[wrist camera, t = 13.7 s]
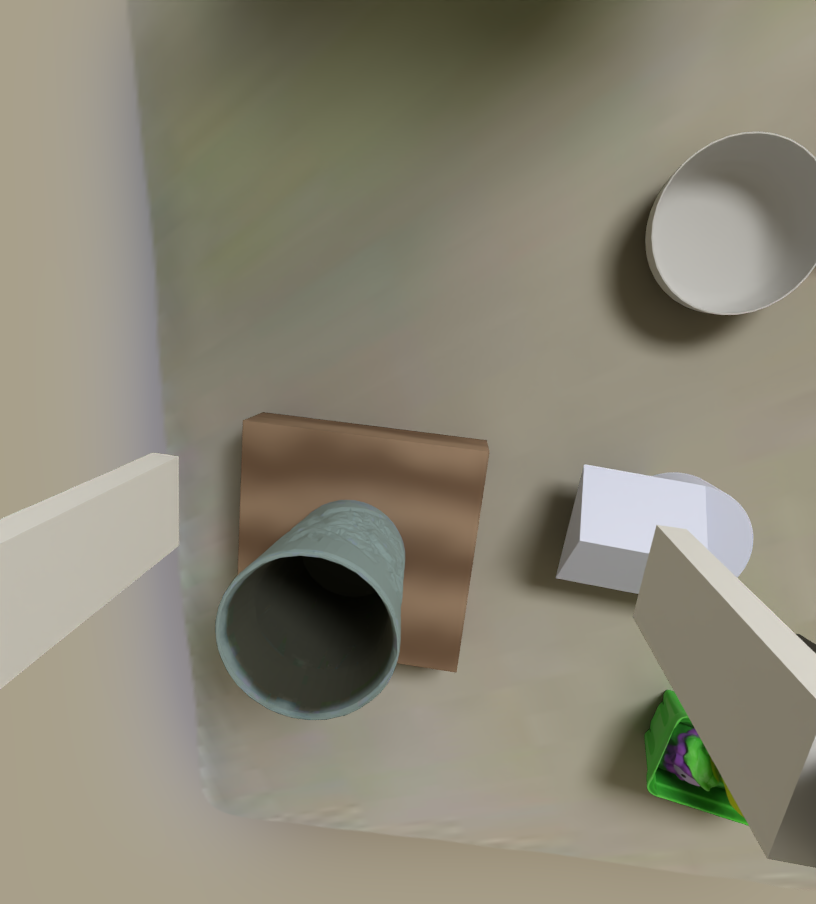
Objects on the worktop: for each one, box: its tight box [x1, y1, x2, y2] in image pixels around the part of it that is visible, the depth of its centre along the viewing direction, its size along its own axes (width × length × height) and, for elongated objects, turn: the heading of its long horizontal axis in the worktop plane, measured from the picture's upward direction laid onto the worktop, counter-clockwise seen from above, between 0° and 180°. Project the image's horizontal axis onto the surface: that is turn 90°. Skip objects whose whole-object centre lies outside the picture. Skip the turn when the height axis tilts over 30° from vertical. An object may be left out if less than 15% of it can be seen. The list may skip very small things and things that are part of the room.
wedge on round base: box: [556, 464, 753, 594], centre depth 38 cm, size 9×7×13 cm
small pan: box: [645, 132, 816, 315], centre depth 34 cm, size 11×18×4 cm, turn 96°
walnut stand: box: [238, 412, 489, 672], centre depth 41 cm, size 18×18×4 cm
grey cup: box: [215, 500, 405, 720], centre depth 34 cm, size 10×10×12 cm
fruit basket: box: [644, 690, 749, 826], centre depth 39 cm, size 11×9×11 cm
